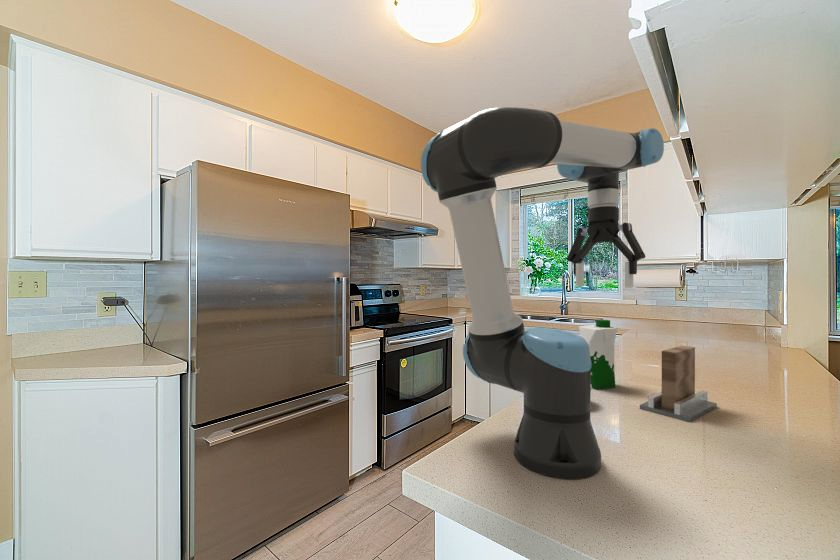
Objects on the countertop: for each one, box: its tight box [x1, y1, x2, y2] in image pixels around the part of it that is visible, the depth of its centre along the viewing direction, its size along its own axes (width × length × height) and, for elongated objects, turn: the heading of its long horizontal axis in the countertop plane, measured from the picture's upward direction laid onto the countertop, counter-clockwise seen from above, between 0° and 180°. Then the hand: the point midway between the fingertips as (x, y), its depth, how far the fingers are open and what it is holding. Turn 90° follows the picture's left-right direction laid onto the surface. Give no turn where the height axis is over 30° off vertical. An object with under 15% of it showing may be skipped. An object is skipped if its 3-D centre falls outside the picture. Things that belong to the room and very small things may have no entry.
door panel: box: [661, 345, 696, 410], centre depth 97 cm, size 12×3×14 cm, turn 125°
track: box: [639, 390, 718, 423], centre depth 97 cm, size 17×11×4 cm, turn 125°
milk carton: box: [578, 319, 618, 390], centre depth 117 cm, size 9×9×20 cm
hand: (603, 287), depth 102 cm, fingers open, 13 cm apart
